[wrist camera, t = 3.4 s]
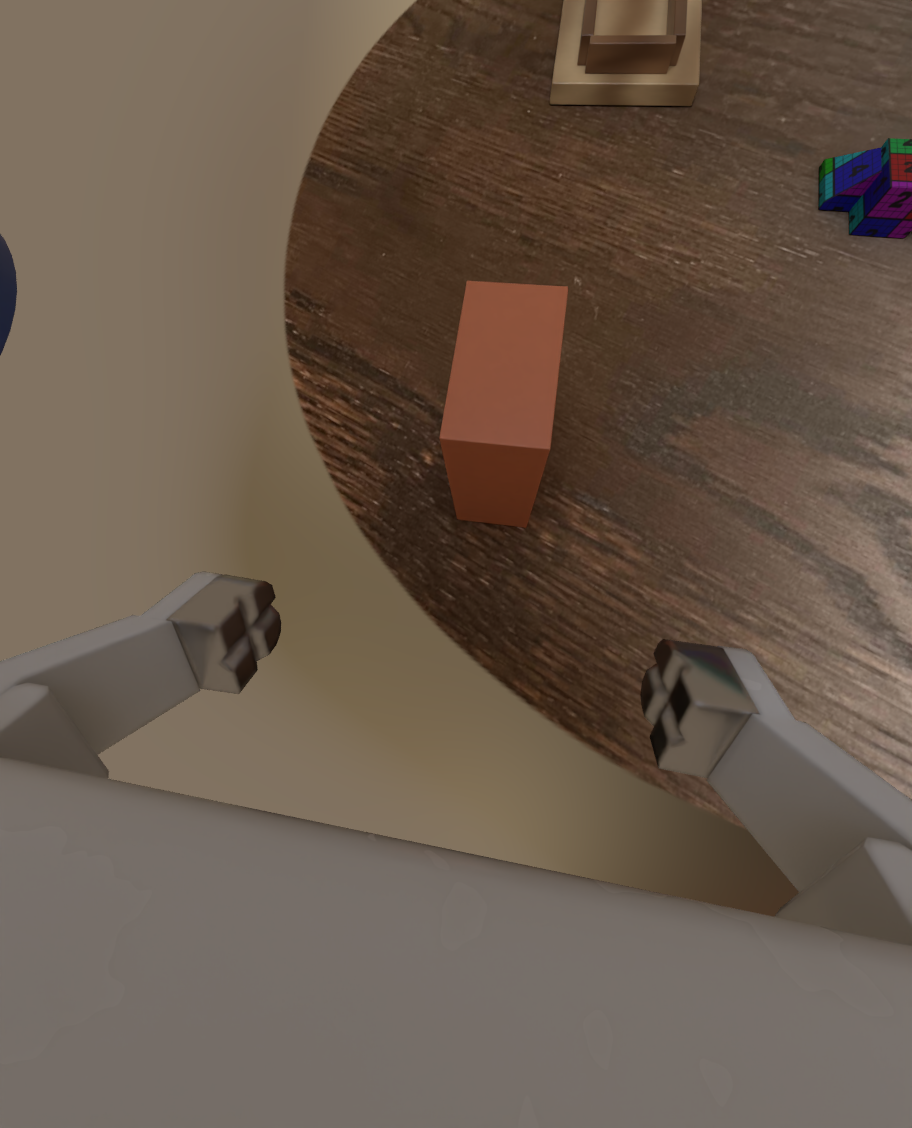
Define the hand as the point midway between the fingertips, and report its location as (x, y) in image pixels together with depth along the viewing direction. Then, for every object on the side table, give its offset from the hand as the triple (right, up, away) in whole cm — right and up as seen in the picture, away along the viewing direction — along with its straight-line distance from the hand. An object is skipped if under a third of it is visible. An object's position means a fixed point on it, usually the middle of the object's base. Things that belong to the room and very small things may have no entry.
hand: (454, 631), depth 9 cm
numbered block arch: (+28, +24, +18) cm, 41 cm away
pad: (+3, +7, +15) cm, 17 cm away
